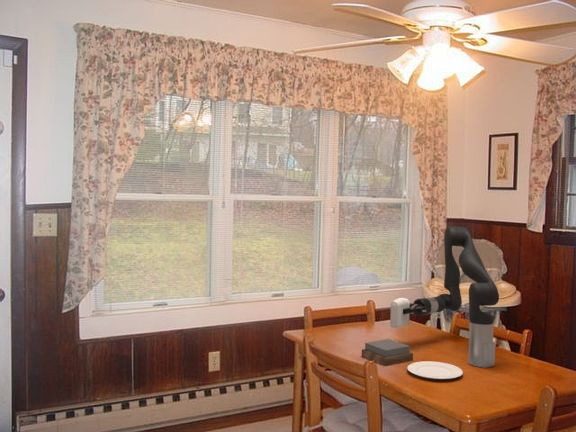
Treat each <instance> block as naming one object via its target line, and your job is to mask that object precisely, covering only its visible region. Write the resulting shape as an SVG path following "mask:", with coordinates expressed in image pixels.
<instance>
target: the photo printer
mask: <svg viewBox="0 0 576 432" xmlns="http://www.w3.org/2000/svg"><path fill="white" fill-rule="evenodd" d="M410 303H411V302H410V300H409V299H408V298H405V297H399V298H396V299H394V300H392V301H391V304H390V321H389V324H390V327H391V328H393V329H397V328H402V327H405V326H409V325H410V313H409V314H403V309H407V308H410Z"/></svg>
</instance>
